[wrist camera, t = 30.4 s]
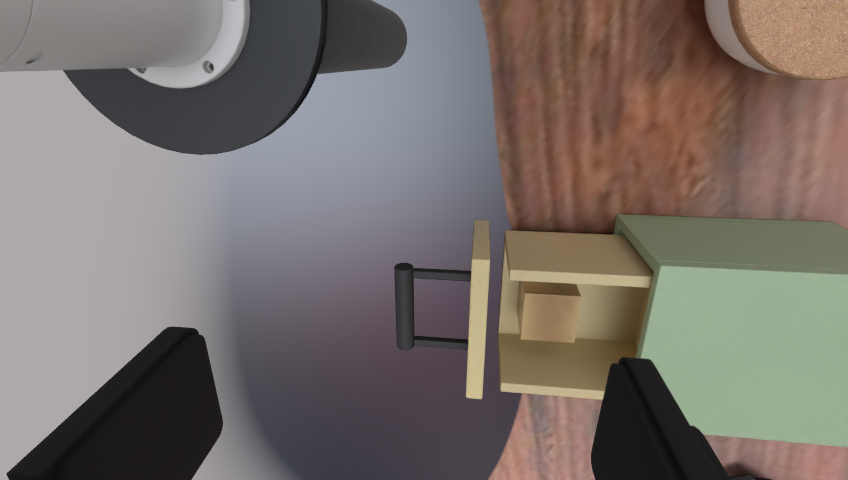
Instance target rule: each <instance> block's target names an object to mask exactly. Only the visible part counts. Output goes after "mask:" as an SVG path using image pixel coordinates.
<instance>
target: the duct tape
mask: <svg viewBox="0 0 848 480" xmlns="http://www.w3.org/2000/svg"><path fill="white" fill-rule="evenodd" d="M729 478H730V479H731V480H770V479H764V478H753V477H752V476H750V475H749V474H745V475H738V476H733V477H729Z"/></svg>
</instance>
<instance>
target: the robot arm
mask: <svg viewBox="0 0 848 480" xmlns="http://www.w3.org/2000/svg"><path fill="white" fill-rule="evenodd" d="M249 21H250V1H249V0H0V72H4V71H41V70H80V69H117V68H127V69H129V70H130V71H131V72H133V73H134V74H135V75H137V76H139V77H141V78H143V79H145V80H147V81H148V82H151V83H154V84H157V85H160V86H163V87H170V88H179V89H180V88H193V87H197V86H202V85H206V84H208V83H210V82H212V81H214V80H217V79H219V78H220V77H221V76H222V75H223V74H225V73H226V72H227V71H228V70H229V69H230V68H231V67H232V65H233V64H234V63H235V61H236V60H237V59H238V57H239V55H240V53H241V51H242V49H243V47H244V45H245V41H246V38H247V34H248V30H249ZM212 65H213V66H214V69H213V68H212ZM222 427H223V419H222V415H221V410H220V406H219V401H218V397H217V393H216V388H215V383H214V378H213V374H212V370H211V365H210V360H209V356H208V351H207V347H206V342H205V339H204V337H203V336H202V335H199V333H198V331H197V330H196V329H194V328H183V327H168V328H166V329H165V330H163V331H162V332H161V333H160V334H159V335H158V336H157V337H156V338H155V339H154V340H152V341H151V342H150V343H149V344H148V345H147V346H146V347H145V348H144V349H143V350H141V352H139V353H138V354H137V355H136V356H135V357H134V358H133V359H132V360H131V361H129V362H128V363H127V364H126V365H125V366H124V367H123V368H122V369H121V370H120V371H118V372H117V373H116V374H115V375H114V376H113V377H112V378H111V379H110V380H109V381H108V382H106V383H105V384H104V385H103V386H102V387H101V388H100V389H99V390H98V391H97V392H95V393H94V394H93V395H92V396H91V397H90V398H89V399H88V400H87V401H86V402H84V403H83V404H82V405H81V406H80V407H79V408H78V409H77V410H76V411H75V412H73V413H72V414H71V415H70V416H69V417H68V418H67V419H66V420H65V421H64V422H63V423H61V424H60V425H59V426H58V427H57V428H56V429H55V430H54V431H53V432H52V433H50V434H49V436H47V437H46V438H45V439H44V440H43V441H42V442H41V443H40V444H38V445H37V446H36V447H35V448H34V449H33V450H32V451H31V452H30V453H29V454H27V455H26V456H25V457H24V458H23V459H22V460H21V461H20V462H19V463H18V464H17V465H15V466H14V467H13V468H12V469H11V470H10V471H9V472H8V473H7V476H8V478H9V480H191V479H192V478H193V476H194V475H195V473H196V471H197V470H198V469H199V467H200V466H201V464H202V462H203V461H204V459H205V458H206V456H207V455H208V453H209V452H210V450H211V449H212V447H213V446H214V444H215V442H216V441H217V439H218V438H219V436H220V434H221V431H222ZM591 464H592V470H593V473H594V477H595V480H731V479H730V478H729V476H728V474H727V473H726V471H725V469H724V468H723V466H722V464H721V463H720V461H719V460H718V458H717V456H716V455H715V453H714V451H713V450H712V448H711V446H710V445H709V443H708V441H707V440H706V438H705V436H704V435H703V434H702V432H701V431H700V430H699V429H698V428H696V427H695V426H690V424H689V423H688V421H687V419H686V418H685V416H684V414H683V412H682V411H681V409H680V407H679V406H678V404H677V402H676V401H675V399H674V397H673V395H672V394H671V392H670V390H669V389H668V387H667V385H666V383H665V382H664V380H663V378H662V377H661V375H660V373H659V372H658V370H657V368H656V366H655V365H654V363H653V362H652V361H651V360H650V359H645V358H630V357H622V358H621V359H620V360H619V363H612V364H611V366H610V369H609V374H608V378H607V383H606V387H605V392H604V397H603V401H602V406H601V410H600V415H599V419H598V424H597V429H596V433H595V438H594V442H593V447H592V452H591Z"/></svg>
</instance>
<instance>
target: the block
mask: <svg viewBox="0 0 848 480" xmlns="http://www.w3.org/2000/svg"><path fill="white" fill-rule="evenodd" d="M580 302H581V295H580V292H579V290H578V287H577V285H576V284H569V283H551V282H533V281H519V293H518V304H517V317H518V325H519V333H520V339H522V340H537V341H551V342H566V343H574V342H575V336H576V329H577V322H578V316H579V309H580Z"/></svg>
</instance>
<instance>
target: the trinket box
mask: <svg viewBox="0 0 848 480" xmlns="http://www.w3.org/2000/svg"><path fill="white" fill-rule="evenodd" d="M704 6H705V15H706V19H707V23H708V26H709V28H710V31H711V33H712V35H713V37H714V39H715V40H716V42H717V43H718V45H719V46H720V47H721V48H722V49H723V50H724V51H725V52H726V53H727V54H728V55H729V56H731V57H733V58H734V59H736V60H737V61H739V62H740V63H742V64H744V65H746V66H748V67H751V68H754V69H756V70H759V71H762V72H766V73H771V74H776V75H783V76H787V77H793V78H798V79H805V80H831V79H840V78H846V77H848V0H704Z"/></svg>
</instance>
